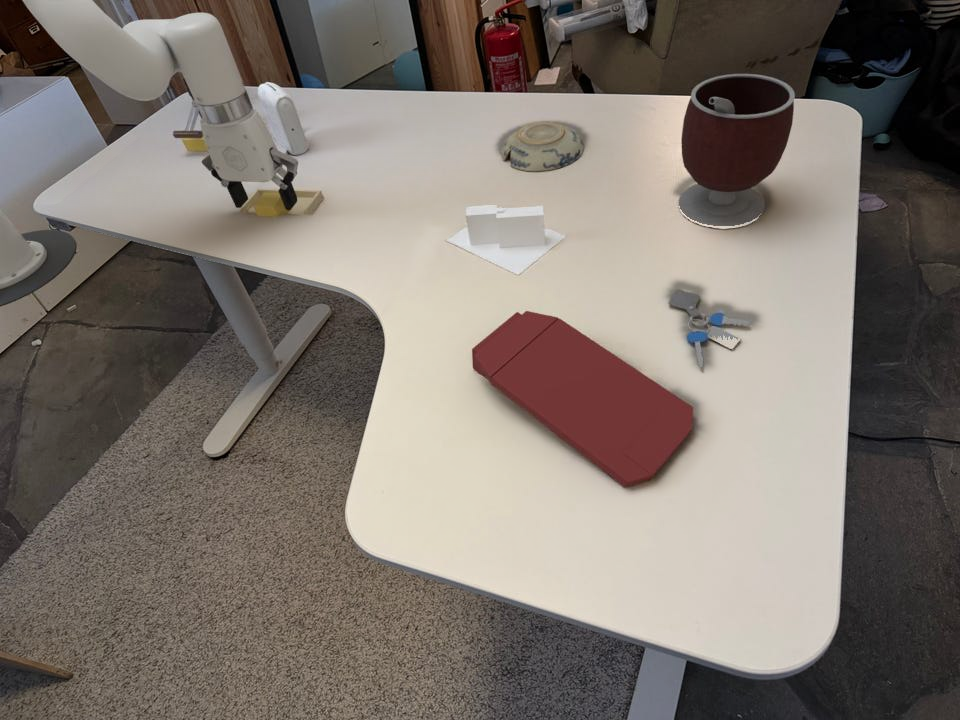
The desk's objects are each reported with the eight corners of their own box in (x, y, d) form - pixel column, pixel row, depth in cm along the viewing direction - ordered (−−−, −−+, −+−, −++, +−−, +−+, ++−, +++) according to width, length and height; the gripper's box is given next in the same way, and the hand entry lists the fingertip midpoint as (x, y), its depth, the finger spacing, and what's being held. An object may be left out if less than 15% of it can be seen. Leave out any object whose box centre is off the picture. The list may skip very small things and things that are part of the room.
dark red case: (691, 437, 69) (526, 322, 79) (704, 414, 65) (528, 297, 75) (629, 510, 63) (461, 377, 74) (639, 490, 60) (459, 353, 70)
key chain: (662, 294, 80) (663, 289, 79) (724, 284, 80) (725, 279, 79) (698, 371, 70) (699, 366, 70) (768, 360, 70) (770, 355, 70)
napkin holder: (566, 235, 92) (566, 203, 87) (519, 275, 87) (516, 242, 82) (493, 206, 100) (489, 175, 95) (445, 241, 94) (439, 210, 90)
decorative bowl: (600, 144, 109) (537, 123, 117) (601, 124, 107) (536, 104, 115) (547, 182, 103) (484, 157, 111) (546, 162, 100) (482, 138, 108)
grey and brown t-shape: (203, 141, 121) (195, 134, 119) (178, 141, 123) (170, 134, 121) (220, 80, 125) (213, 72, 122) (196, 81, 126) (188, 73, 124)
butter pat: (280, 222, 103) (273, 206, 101) (259, 221, 104) (252, 205, 102) (290, 209, 106) (283, 193, 104) (270, 208, 107) (263, 192, 105)
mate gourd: (702, 172, 99) (722, 43, 84) (786, 197, 91) (824, 61, 77) (649, 218, 92) (662, 87, 78) (735, 249, 85) (767, 110, 70)
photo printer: (312, 149, 122) (291, 88, 113) (293, 158, 120) (270, 96, 111) (291, 134, 128) (270, 74, 119) (273, 141, 126) (249, 82, 117)
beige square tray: (291, 241, 100) (288, 233, 99) (224, 238, 103) (220, 230, 102) (323, 198, 108) (321, 190, 107) (260, 196, 111) (257, 188, 110)
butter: (217, 155, 125) (210, 139, 123) (189, 155, 127) (181, 139, 124) (225, 147, 127) (218, 132, 125) (197, 147, 129) (189, 131, 126)
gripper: (163, 118, 91) (212, 215, 103) (263, 118, 87) (302, 219, 99) (191, 96, 96) (234, 191, 108) (287, 95, 92) (321, 194, 104)
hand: (267, 204), depth 104 cm, fingers open, 9 cm apart
